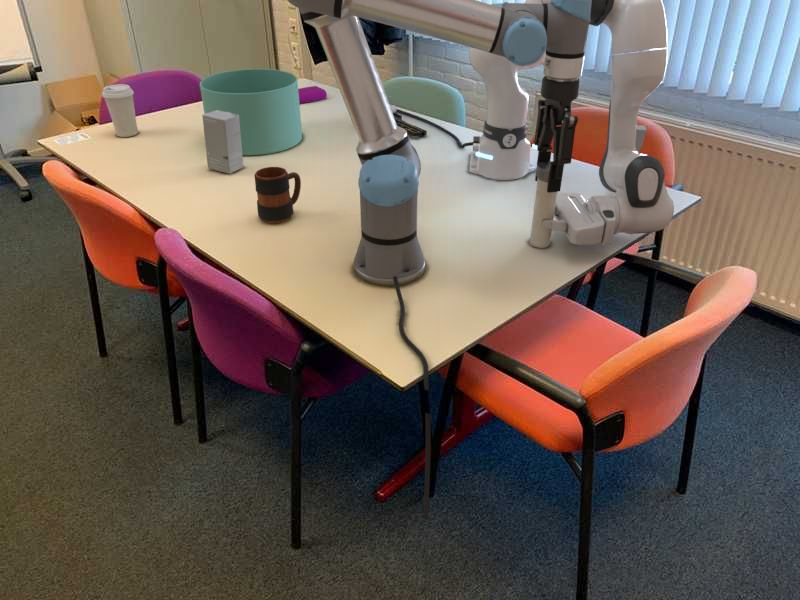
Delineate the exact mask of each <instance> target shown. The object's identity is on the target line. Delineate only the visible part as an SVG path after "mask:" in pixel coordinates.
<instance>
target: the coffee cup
mask: <svg viewBox="0 0 800 600" xmlns="http://www.w3.org/2000/svg"><path fill="white" fill-rule="evenodd" d="M134 94H135V92H134V90H133V88H131V86H130V85H128V84H126V83H125V84H124V83H123V84H122V83H120V84H119V83H118V84H110V85H107V86H104V87H103V89H102V92H101V97H102V98H103V99H104V102H105V104H106V107H107V109H108V112H109V117H110V119H111V121H112V126H113V128H114V131H115V133H116V136H118V137H121V138H129V137H133V136H136V135H137V134H139V132H138V130H139V129H138V123H137V116H136V110H135V102H134V101H135V100H134Z"/></svg>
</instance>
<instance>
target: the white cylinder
mask: <svg viewBox="0 0 800 600" xmlns="http://www.w3.org/2000/svg"><path fill="white" fill-rule="evenodd" d="M547 187H548V181H547V180H542V179H539V178H538V179H537V182H536V186H535V188H536V189H535V197H534V204H533V213H532V219H531V230H530V237H529V244H530V245H531V246H533V247H535V248H539V249H544V248H548V247H550V245H551V239H552V232H553V229H551V228H549V229H545V228H543V226H542V220H543V219H547V218H550V219H551V220H555V219H554V218H555V216H554V212H555V205H556V198H557V192H550V193H548V192H547Z"/></svg>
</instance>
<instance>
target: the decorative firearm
mask: <svg viewBox="0 0 800 600" xmlns="http://www.w3.org/2000/svg"><path fill="white" fill-rule="evenodd" d="M389 105H390V108H391V110H392V113H393V116H394V119H395V121H396V124H397V126H399V127H401V128H403V129H405V130H406V131H407V134H408V136H411V137H415V138H416V137H419V138H424V137H426V136H427V132H428V130H426V129H423V128H421V127H420V126H416V125H413V124H411V123H409V122H406V121H405V120H403V115H401V114H399V113H397V112H396V111H397V109H398V107H397V105H393V104H389Z"/></svg>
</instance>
